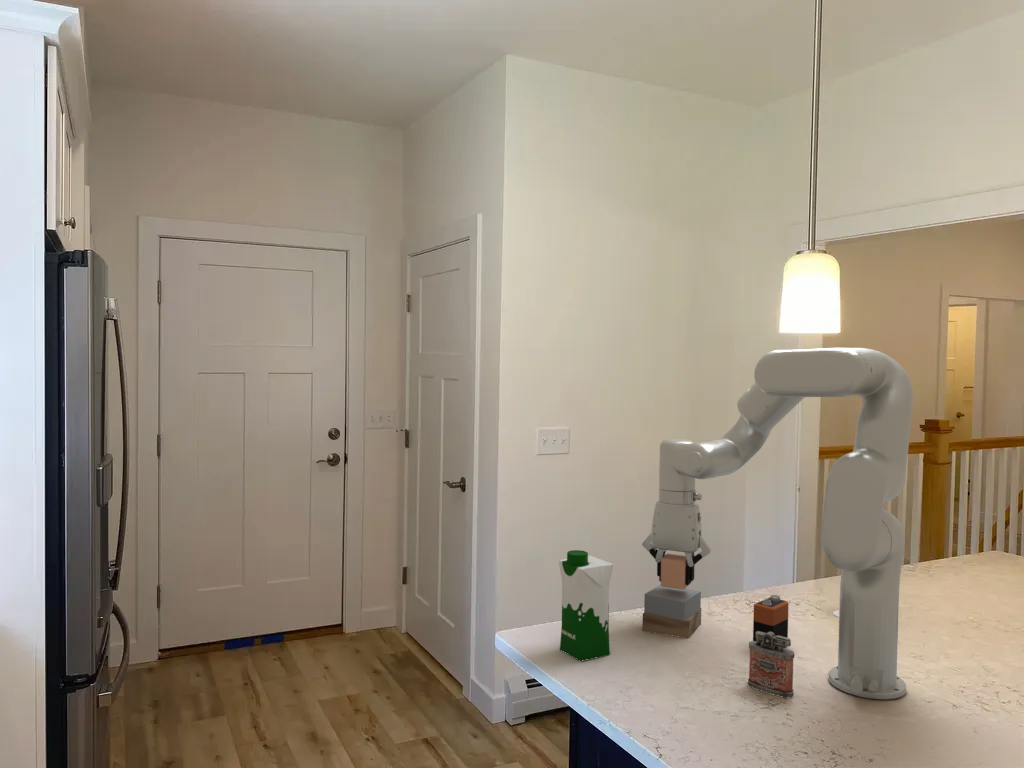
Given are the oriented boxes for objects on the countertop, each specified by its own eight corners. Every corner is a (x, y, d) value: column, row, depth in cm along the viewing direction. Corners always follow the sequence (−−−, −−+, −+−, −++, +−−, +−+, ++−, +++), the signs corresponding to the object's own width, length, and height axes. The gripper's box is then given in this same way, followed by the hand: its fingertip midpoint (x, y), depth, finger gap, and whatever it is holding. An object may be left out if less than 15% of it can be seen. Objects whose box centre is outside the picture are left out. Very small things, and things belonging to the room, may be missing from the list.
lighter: (744, 686, 138) (745, 630, 138) (753, 680, 141) (754, 625, 140) (788, 700, 133) (790, 642, 132) (796, 693, 135) (798, 636, 135)
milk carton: (553, 649, 155) (554, 549, 154) (590, 641, 159) (591, 543, 159) (579, 664, 147) (580, 559, 146) (617, 655, 152) (618, 553, 151)
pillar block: (684, 589, 164) (684, 561, 164) (660, 586, 166) (661, 558, 166) (689, 583, 168) (690, 556, 168) (667, 580, 171) (667, 553, 170)
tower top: (684, 621, 161) (684, 602, 161) (644, 612, 166) (644, 593, 166) (700, 609, 169) (700, 591, 168) (661, 601, 174) (662, 583, 174)
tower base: (689, 640, 161) (689, 621, 161) (642, 632, 166) (642, 613, 166) (700, 626, 170) (701, 607, 170) (656, 618, 175) (656, 600, 175)
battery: (788, 646, 158) (789, 597, 157) (772, 654, 153) (773, 604, 153) (768, 640, 161) (769, 592, 160) (751, 648, 156) (752, 599, 156)
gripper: (720, 498, 166) (719, 582, 167) (643, 491, 174) (642, 572, 174) (713, 503, 159) (711, 592, 160) (632, 496, 167) (631, 580, 168)
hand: (675, 580), depth 167 cm, fingers closed on pillar block, 4 cm apart
